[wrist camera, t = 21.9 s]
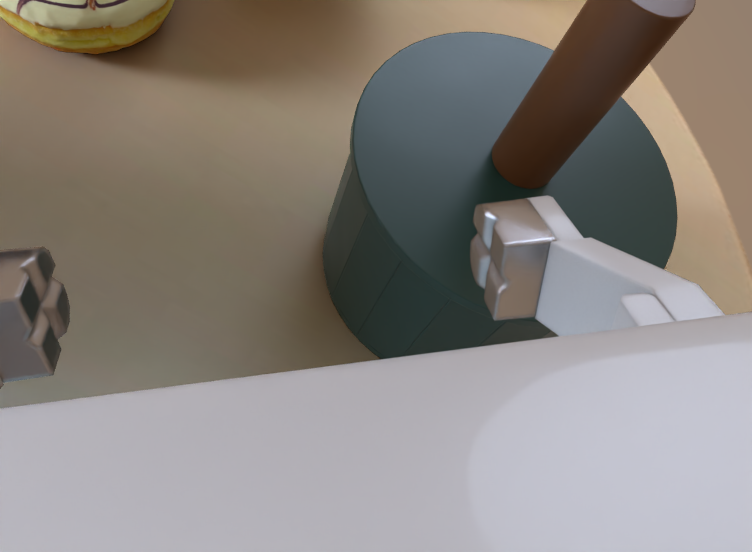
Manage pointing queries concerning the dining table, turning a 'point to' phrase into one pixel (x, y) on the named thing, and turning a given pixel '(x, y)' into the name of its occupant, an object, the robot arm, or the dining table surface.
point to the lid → (516, 140)
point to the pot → (397, 292)
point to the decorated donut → (86, 22)
